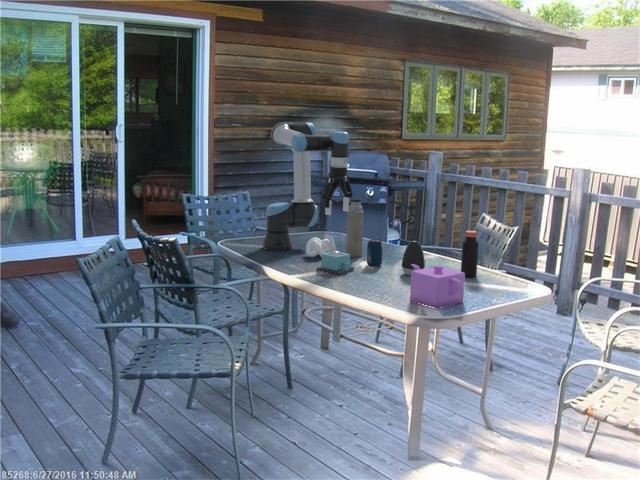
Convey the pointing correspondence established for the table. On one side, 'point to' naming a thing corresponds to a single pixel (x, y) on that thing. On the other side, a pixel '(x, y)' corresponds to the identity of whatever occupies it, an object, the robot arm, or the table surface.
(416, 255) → the egg shaped speaker
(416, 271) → the teapot
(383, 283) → the table surface
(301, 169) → the robot arm
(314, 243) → the white coiled rope
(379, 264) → the soda can
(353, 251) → the thermos bottle
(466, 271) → the black water bottle
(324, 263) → the teal rectangular planter
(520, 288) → the table surface
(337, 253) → the post base
